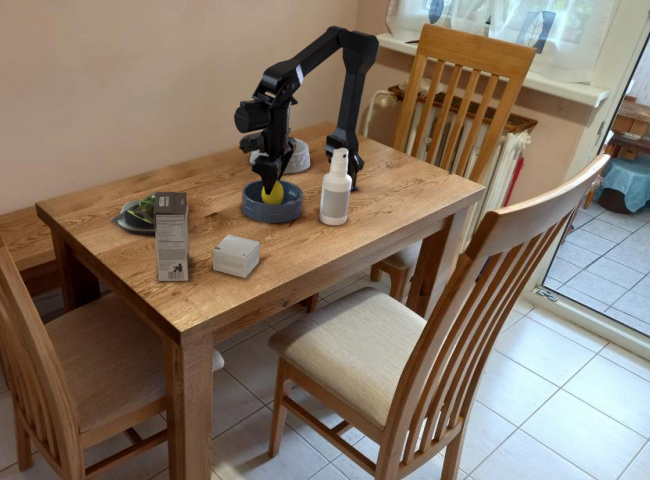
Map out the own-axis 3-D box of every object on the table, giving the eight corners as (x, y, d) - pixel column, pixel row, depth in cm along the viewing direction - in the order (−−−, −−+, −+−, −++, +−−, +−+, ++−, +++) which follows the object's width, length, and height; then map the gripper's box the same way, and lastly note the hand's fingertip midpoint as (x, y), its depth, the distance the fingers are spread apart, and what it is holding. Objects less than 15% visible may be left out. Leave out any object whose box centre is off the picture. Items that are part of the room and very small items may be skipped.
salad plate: (124, 198, 150) (122, 181, 147) (193, 200, 150) (192, 184, 147) (107, 235, 134) (105, 217, 132) (184, 237, 134) (183, 220, 132)
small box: (260, 261, 127) (260, 241, 124) (244, 279, 121) (245, 258, 118) (228, 253, 129) (228, 233, 126) (211, 270, 124) (211, 249, 121)
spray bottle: (328, 228, 141) (337, 157, 130) (313, 216, 145) (320, 147, 135) (351, 222, 143) (361, 153, 133) (336, 211, 148) (344, 143, 138)
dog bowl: (279, 146, 183) (280, 129, 180) (322, 164, 173) (323, 147, 169) (238, 159, 174) (238, 142, 171) (281, 179, 163) (282, 161, 160)
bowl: (286, 193, 156) (287, 176, 153) (311, 218, 144) (313, 200, 141) (233, 201, 151) (233, 183, 148) (255, 228, 139) (256, 209, 136)
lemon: (280, 215, 145) (282, 185, 140) (259, 212, 146) (260, 182, 141) (284, 205, 149) (286, 176, 144) (263, 202, 150) (264, 173, 145)
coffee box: (160, 258, 127) (155, 190, 117) (189, 258, 127) (187, 190, 118) (158, 281, 119) (152, 211, 110) (189, 281, 120) (186, 211, 110)
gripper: (255, 109, 144) (253, 168, 153) (230, 133, 129) (230, 197, 138) (299, 115, 141) (294, 174, 150) (278, 140, 127) (274, 204, 136)
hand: (273, 187), depth 144 cm, fingers open, 9 cm apart
